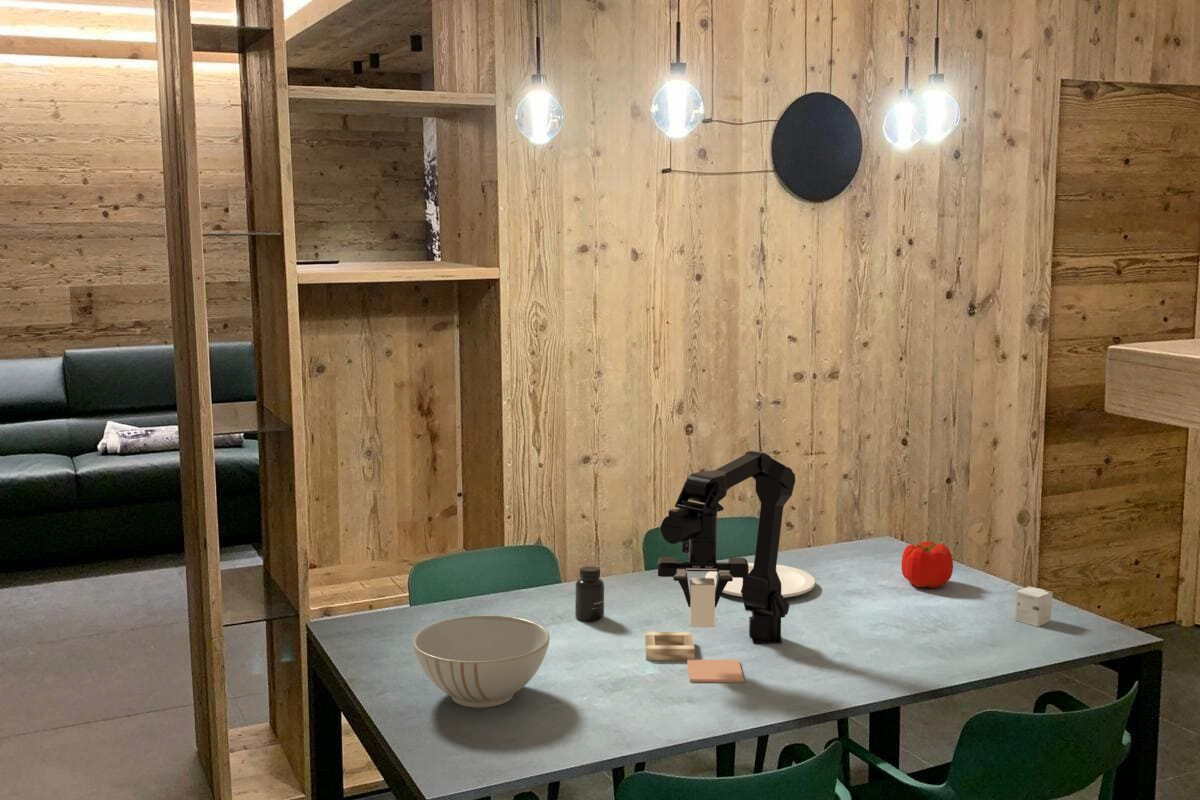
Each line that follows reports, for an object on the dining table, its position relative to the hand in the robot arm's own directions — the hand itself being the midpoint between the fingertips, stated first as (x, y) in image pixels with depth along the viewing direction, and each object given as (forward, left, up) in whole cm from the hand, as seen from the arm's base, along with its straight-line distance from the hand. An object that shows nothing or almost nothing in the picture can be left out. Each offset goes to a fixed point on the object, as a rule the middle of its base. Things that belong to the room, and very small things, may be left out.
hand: (702, 606), depth 250 cm
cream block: (0, 0, -4) cm, 4 cm away
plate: (-19, -56, -14) cm, 60 cm away
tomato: (-62, -58, -13) cm, 85 cm away
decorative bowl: (+44, +16, -13) cm, 49 cm away
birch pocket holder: (+6, -9, -13) cm, 17 cm away
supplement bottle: (+24, -31, -13) cm, 41 cm away
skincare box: (-80, -30, -13) cm, 86 cm away
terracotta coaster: (-3, +3, -13) cm, 14 cm away
